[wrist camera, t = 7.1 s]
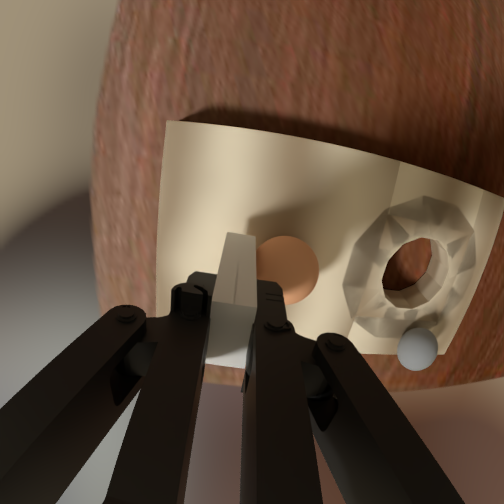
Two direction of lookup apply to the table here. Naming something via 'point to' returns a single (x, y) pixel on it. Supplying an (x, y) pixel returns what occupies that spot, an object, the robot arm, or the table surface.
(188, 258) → the board
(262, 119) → the table surface
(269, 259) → the orange ball
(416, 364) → the grey ball
